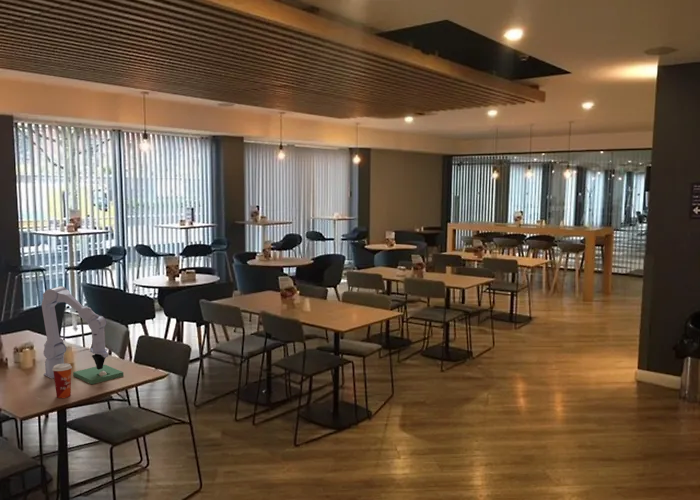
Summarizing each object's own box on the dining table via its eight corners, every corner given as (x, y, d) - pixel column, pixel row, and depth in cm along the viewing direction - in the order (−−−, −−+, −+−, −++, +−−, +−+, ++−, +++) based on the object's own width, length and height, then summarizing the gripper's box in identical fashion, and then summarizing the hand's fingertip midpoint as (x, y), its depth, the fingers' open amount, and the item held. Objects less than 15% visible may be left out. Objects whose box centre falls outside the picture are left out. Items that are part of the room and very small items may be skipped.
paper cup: (65, 399, 254) (63, 368, 253) (50, 398, 256) (48, 367, 254) (77, 393, 262) (75, 363, 260) (62, 392, 263) (60, 362, 262)
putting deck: (73, 375, 286) (73, 372, 286) (105, 368, 298) (104, 364, 298) (91, 384, 274) (91, 380, 273) (123, 376, 286) (123, 372, 285)
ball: (101, 378, 280) (99, 379, 282) (108, 376, 282) (106, 377, 285) (99, 371, 280) (96, 373, 283) (106, 369, 283) (103, 371, 285)
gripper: (113, 342, 281) (115, 370, 282) (99, 337, 290) (100, 363, 292) (99, 345, 276) (100, 373, 277) (85, 340, 285) (86, 367, 286)
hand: (99, 368), depth 284 cm, fingers closed
